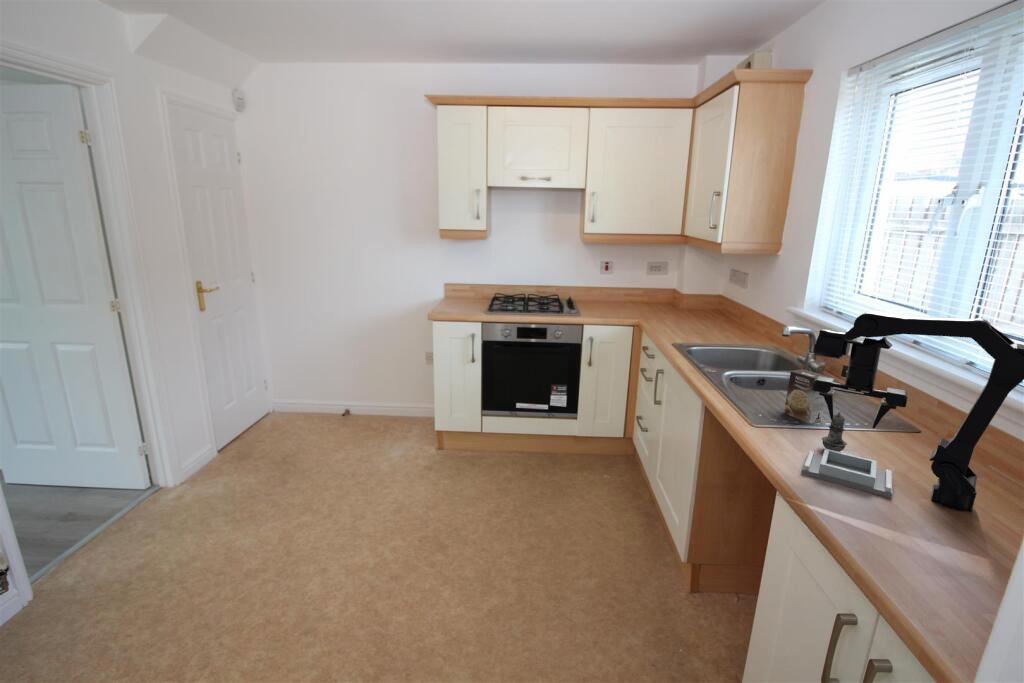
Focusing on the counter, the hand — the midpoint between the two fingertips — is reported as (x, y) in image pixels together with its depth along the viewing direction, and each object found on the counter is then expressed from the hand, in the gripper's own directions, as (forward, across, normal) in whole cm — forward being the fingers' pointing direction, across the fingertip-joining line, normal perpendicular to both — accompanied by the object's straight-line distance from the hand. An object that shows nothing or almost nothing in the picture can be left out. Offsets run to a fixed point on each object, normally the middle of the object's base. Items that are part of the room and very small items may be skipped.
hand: (852, 423), depth 121 cm
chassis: (+13, -1, +3) cm, 13 cm away
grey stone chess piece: (+13, +4, -10) cm, 17 cm away
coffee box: (+13, +14, -31) cm, 36 cm away
